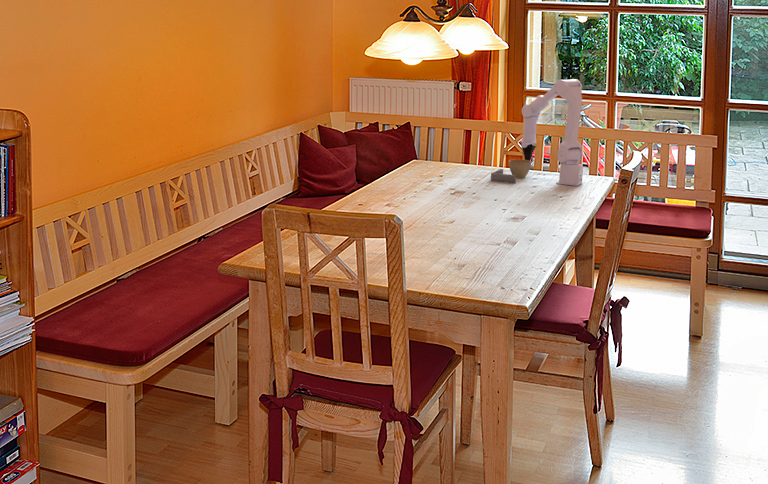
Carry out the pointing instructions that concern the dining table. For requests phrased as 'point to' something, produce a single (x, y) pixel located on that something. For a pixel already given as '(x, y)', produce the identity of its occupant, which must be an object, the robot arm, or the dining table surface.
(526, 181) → the dining table surface
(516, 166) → the flower pot
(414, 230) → the dining table surface
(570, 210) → the dining table surface
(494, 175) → the keeper bracket
